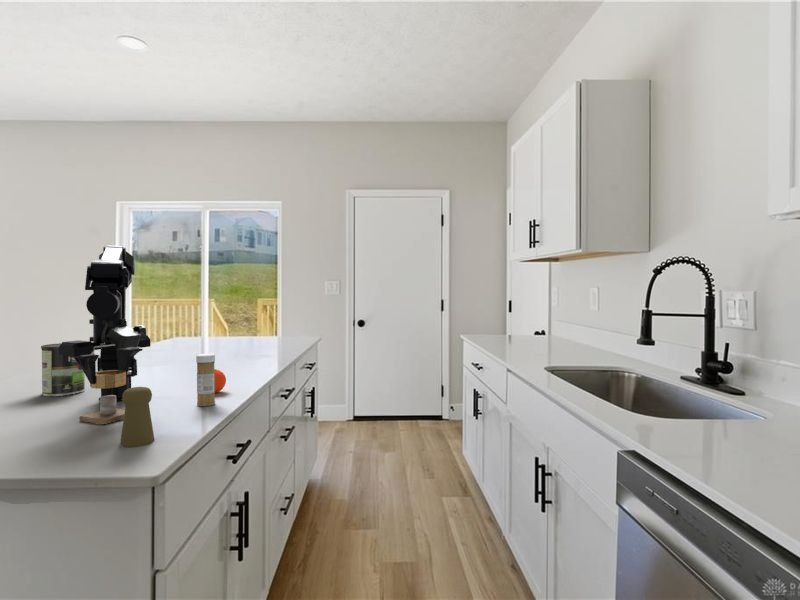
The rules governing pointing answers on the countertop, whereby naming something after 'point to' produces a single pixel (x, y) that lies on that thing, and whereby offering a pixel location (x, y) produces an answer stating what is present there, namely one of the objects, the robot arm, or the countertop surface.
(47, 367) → the coffee can
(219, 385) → the clementine
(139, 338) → the robot arm
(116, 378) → the ring
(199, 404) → the sprinkles bottle
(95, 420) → the peg stand
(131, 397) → the cork
